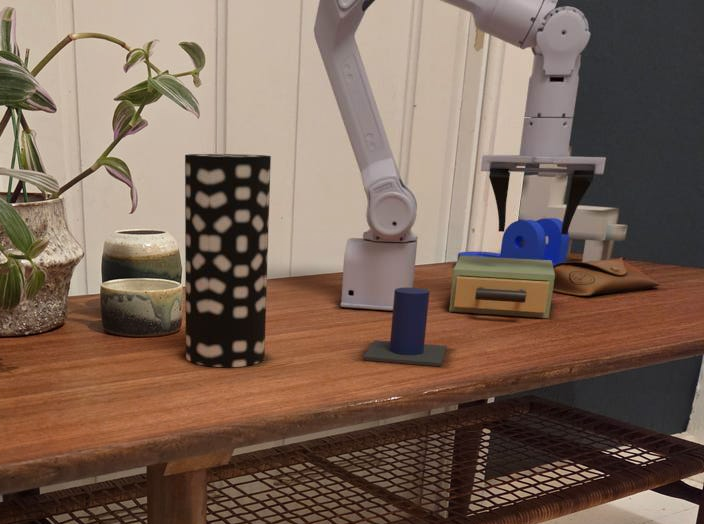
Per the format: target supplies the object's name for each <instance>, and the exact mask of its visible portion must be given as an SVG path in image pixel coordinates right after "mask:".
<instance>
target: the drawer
mask: <svg viewBox="0 0 704 524" xmlns="http://www.w3.org/2000/svg"><path fill="white" fill-rule="evenodd" d="M548 289H549V282H546V281H543V280H528V279H511V278H494V277H477V276H464V277H461V276H458V277H457V282H456V291H455V300H454V307H465V308H480V309H495V310H509V311H524V312H539V313H545V309H546V302H547V295H548Z"/></svg>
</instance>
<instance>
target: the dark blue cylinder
mask: <svg viewBox="0 0 704 524" xmlns="http://www.w3.org/2000/svg"><path fill="white" fill-rule="evenodd" d="M429 301H430V290H428V289H426V288H421V287H413V288H397V289H395V292H394V303H393V311H392V317H391V327H390V329H391V331H390V340H389V341H390V351H391V352H393V353H396V354H401V355H418V354H422V353H423V352H424V344H425V342H426V331H427V321H428V311H429Z"/></svg>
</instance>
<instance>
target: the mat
mask: <svg viewBox="0 0 704 524" xmlns="http://www.w3.org/2000/svg"><path fill="white" fill-rule="evenodd" d="M447 348H448V346H447V345H438V344H427V343H424V352H423V353H422V354H418V355H401V354H396V353H393V352H391V351H390V340H377V339H375V340H373V342H372V344H371V345H370V346H369V348H367V350H366V352H365V353H364V355H363V358H362V360H363V361H369V362H383V363H392V364H393V363H395V364H405V365H418V366H429V367H439V368H440V367H442V363H443V362H444V358H445V355H446V353H447Z"/></svg>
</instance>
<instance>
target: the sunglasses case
mask: <svg viewBox="0 0 704 524" xmlns="http://www.w3.org/2000/svg"><path fill="white" fill-rule="evenodd" d="M553 269H554V273H555V279H554V285H553V292H555V293H559V294H563V295H568V296H580V297H584V296H585V297H586V296H587V297H590V296H594V295H601V294H602V295H603V294H617V293H627V292H637V291H645V290H648V289H652V288H656V287H659V286H661V284H660V283H659V282H657V281H656V280H655V279H654V278H652V277H650V276H648V275H647V274H645V273H643V272H642V271H641V270H639V269H638V268H636V267H635V266H633V265H632V264H630V263H629V262H627V261H626V260H625V257H623V256H622V257H619V258H615V259H611V260H600V261H588V262H582V261H569V262H563V263H559V264H556V265H554V266H553Z"/></svg>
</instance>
